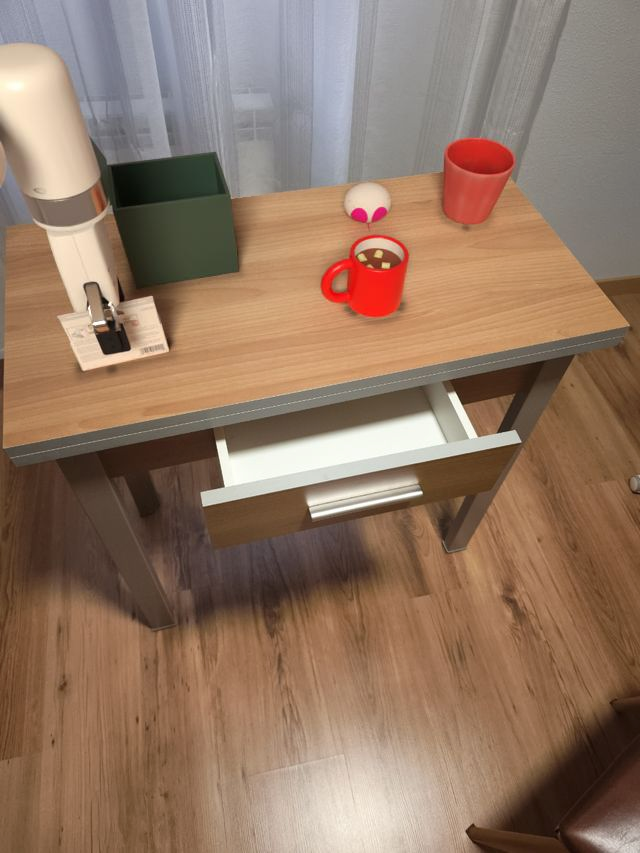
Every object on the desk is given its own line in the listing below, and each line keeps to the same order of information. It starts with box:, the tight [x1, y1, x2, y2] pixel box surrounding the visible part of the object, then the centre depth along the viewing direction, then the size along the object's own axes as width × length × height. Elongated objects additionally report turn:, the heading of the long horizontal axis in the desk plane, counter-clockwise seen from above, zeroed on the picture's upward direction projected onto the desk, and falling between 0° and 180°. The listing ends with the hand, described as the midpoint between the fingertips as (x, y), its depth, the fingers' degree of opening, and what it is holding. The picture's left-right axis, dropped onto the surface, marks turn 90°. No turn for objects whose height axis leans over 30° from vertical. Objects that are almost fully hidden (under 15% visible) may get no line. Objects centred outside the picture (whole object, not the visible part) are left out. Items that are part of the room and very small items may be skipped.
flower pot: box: [442, 136, 516, 226], centre depth 91 cm, size 11×11×10 cm
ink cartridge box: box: [56, 295, 170, 372], centre depth 70 cm, size 2×11×10 cm, turn 109°
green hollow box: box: [107, 151, 240, 289], centre depth 81 cm, size 15×11×12 cm
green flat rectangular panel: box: [89, 135, 112, 207], centre depth 71 cm, size 7×11×1 cm
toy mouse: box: [343, 181, 392, 232], centre depth 91 cm, size 8×8×7 cm
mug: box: [320, 234, 410, 318], centre depth 78 cm, size 8×12×8 cm, turn 110°
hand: (114, 325), depth 69 cm, fingers open, 8 cm apart
